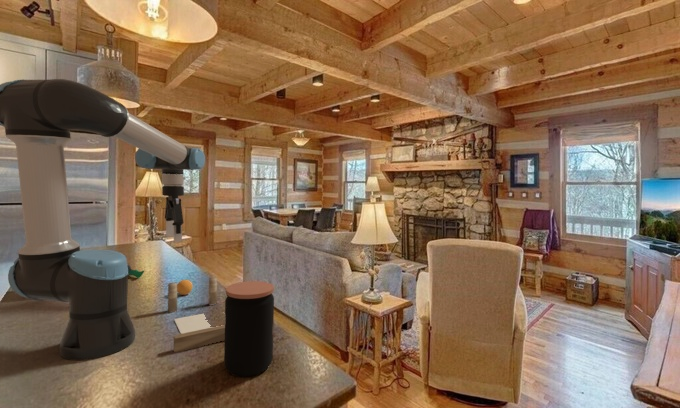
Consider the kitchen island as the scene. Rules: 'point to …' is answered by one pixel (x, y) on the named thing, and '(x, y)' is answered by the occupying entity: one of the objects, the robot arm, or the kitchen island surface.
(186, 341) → the stopper wall
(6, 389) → the kitchen island surface
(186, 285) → the ball
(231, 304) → the coffee jar
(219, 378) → the kitchen island surface
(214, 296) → the post right
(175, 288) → the post left
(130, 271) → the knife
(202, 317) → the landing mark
